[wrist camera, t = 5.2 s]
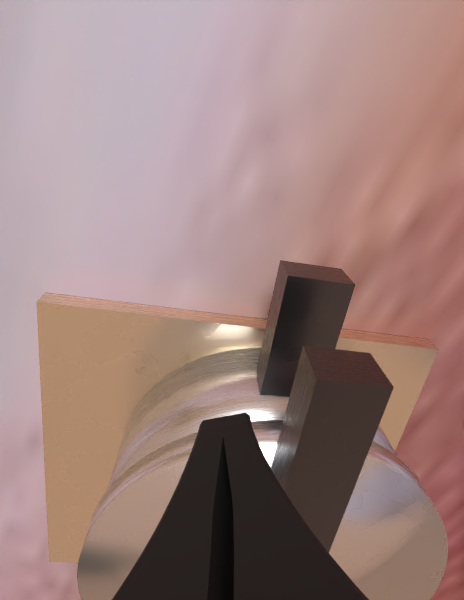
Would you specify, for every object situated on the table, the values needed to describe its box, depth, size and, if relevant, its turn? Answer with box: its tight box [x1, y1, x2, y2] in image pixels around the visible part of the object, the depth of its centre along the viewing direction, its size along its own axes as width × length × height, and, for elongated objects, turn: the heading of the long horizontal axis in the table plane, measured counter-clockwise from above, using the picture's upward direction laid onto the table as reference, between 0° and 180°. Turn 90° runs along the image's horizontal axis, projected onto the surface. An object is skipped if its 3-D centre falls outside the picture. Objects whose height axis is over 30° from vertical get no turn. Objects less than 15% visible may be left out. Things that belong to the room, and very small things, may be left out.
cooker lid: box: [77, 346, 448, 600], centre depth 15 cm, size 18×15×3 cm
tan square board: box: [37, 260, 439, 563], centre depth 19 cm, size 19×22×6 cm
